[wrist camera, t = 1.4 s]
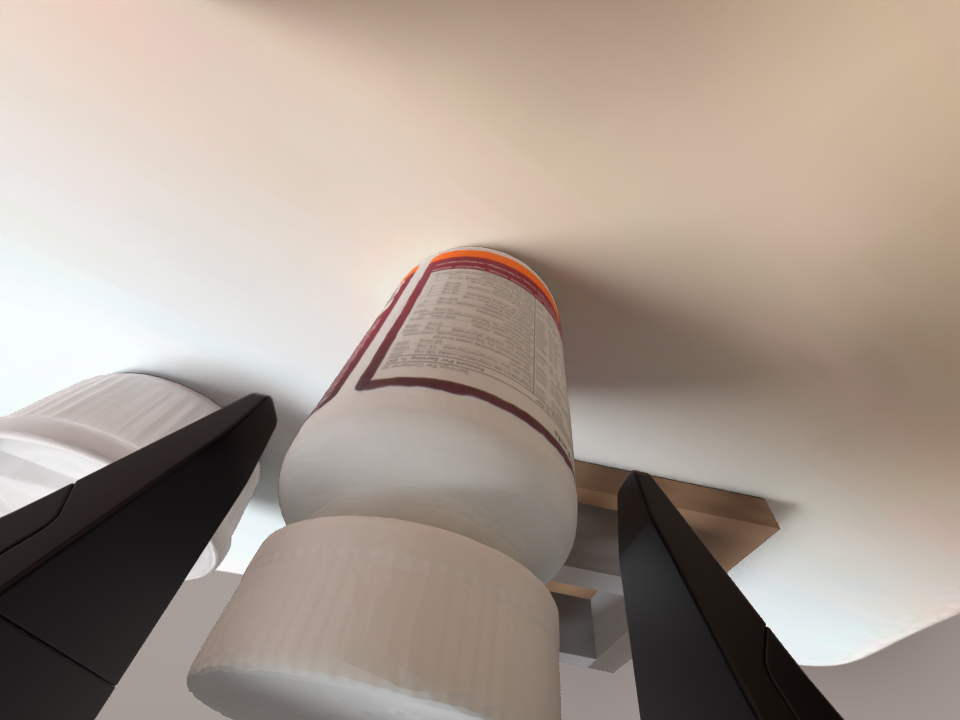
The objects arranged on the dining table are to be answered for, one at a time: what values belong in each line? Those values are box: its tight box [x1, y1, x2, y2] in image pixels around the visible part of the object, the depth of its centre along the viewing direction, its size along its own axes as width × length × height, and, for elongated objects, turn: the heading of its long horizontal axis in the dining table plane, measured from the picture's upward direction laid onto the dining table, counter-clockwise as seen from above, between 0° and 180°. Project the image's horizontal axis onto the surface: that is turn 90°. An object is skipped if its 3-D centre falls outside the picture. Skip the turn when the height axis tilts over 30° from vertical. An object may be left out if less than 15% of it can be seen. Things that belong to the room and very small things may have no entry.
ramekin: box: [0, 373, 260, 580], centre depth 19 cm, size 11×11×5 cm
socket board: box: [545, 460, 780, 673], centre depth 20 cm, size 18×13×4 cm
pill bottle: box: [187, 247, 578, 720], centre depth 10 cm, size 6×6×11 cm
